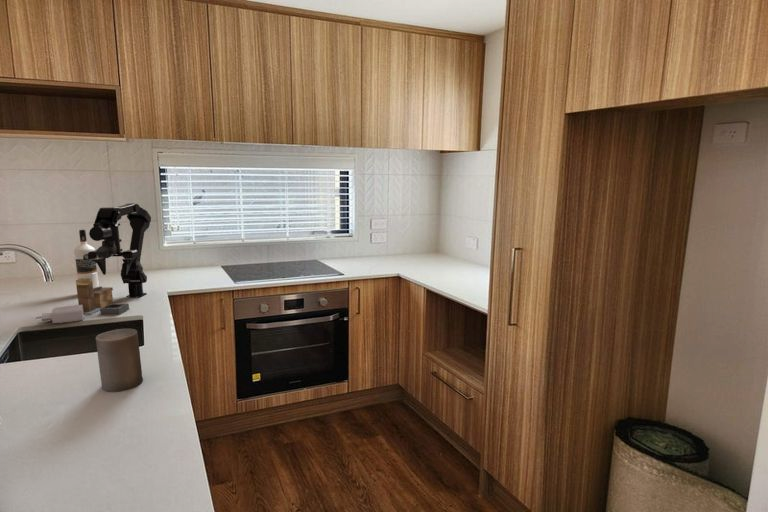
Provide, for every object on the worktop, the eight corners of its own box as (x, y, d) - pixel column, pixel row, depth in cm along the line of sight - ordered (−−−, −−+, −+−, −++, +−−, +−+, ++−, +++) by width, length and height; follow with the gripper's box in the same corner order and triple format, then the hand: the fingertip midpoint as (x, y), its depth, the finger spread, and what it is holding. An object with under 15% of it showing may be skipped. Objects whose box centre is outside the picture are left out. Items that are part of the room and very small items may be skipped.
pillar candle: (149, 376, 134) (143, 323, 132) (132, 391, 124) (126, 334, 122) (113, 377, 134) (106, 324, 131) (93, 393, 124) (86, 336, 122)
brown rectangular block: (85, 309, 200) (82, 278, 198) (95, 309, 200) (91, 278, 198) (79, 312, 196) (75, 280, 194) (89, 312, 196) (85, 280, 194)
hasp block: (111, 309, 201) (110, 303, 201) (129, 309, 201) (128, 303, 200) (100, 314, 194) (100, 308, 193) (119, 314, 194) (118, 308, 193)
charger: (38, 321, 187) (84, 315, 194) (34, 327, 179) (82, 321, 186) (36, 309, 186) (82, 303, 193) (33, 315, 178) (81, 309, 185)
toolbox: (96, 302, 212) (94, 285, 211) (114, 302, 212) (112, 285, 211) (82, 308, 203) (80, 290, 201) (101, 308, 203) (99, 290, 201)
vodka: (100, 290, 234) (93, 228, 229) (101, 294, 226) (94, 229, 221) (77, 293, 229) (69, 229, 224) (78, 297, 221) (70, 231, 216)
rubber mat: (83, 309, 202) (83, 308, 202) (103, 309, 202) (103, 307, 202) (71, 314, 194) (71, 313, 194) (91, 314, 194) (91, 313, 194)
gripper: (77, 240, 196) (81, 278, 199) (123, 240, 196) (127, 278, 198) (93, 237, 207) (97, 273, 210) (137, 236, 207) (141, 272, 209)
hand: (115, 274), depth 207 cm, fingers open, 9 cm apart
